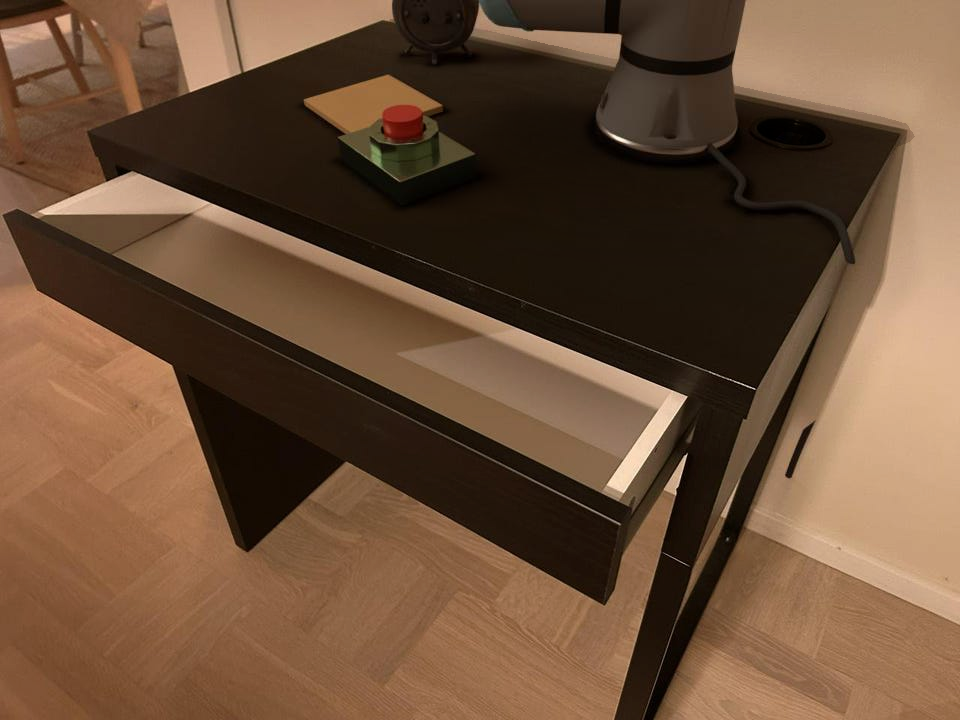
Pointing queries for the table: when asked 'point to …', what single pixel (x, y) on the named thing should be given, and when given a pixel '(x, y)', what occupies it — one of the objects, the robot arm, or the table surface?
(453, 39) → the alarm clock
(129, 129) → the table surface
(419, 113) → the button
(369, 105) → the cork mat
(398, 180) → the control box
